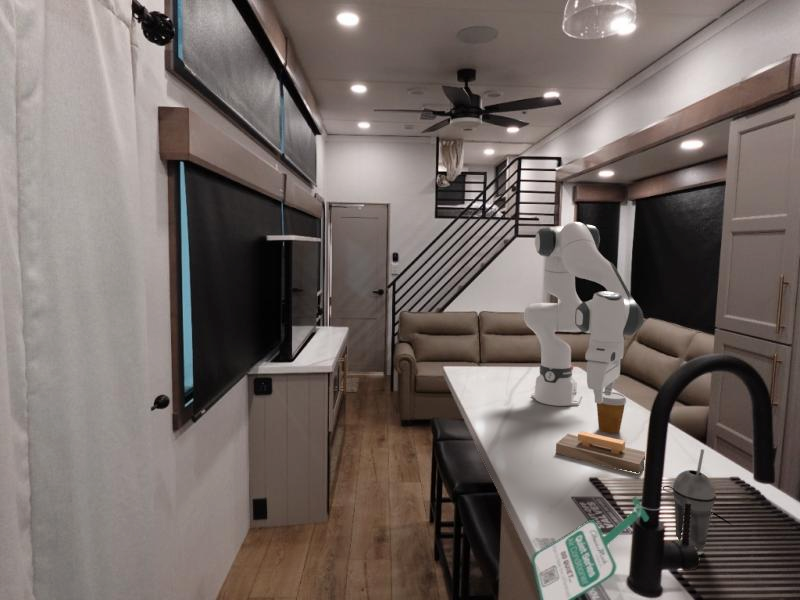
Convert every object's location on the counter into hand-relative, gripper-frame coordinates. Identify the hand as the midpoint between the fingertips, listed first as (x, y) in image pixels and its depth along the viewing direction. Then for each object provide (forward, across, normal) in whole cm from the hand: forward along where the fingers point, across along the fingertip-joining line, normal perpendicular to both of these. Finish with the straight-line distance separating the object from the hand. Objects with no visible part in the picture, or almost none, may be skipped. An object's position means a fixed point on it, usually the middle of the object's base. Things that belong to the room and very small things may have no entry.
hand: (603, 398), depth 136 cm
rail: (+17, 0, 0) cm, 17 cm away
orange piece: (+17, 0, 0) cm, 17 cm away
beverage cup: (+17, +34, +26) cm, 46 cm away
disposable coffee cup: (+18, -25, -4) cm, 31 cm away
